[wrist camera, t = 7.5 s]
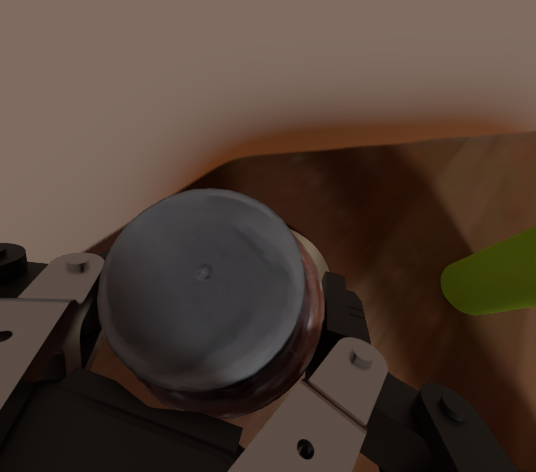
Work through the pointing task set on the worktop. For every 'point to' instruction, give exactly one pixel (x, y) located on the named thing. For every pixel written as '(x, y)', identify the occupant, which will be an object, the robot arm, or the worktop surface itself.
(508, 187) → the worktop surface
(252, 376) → the supplement bottle
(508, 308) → the soap dispenser
